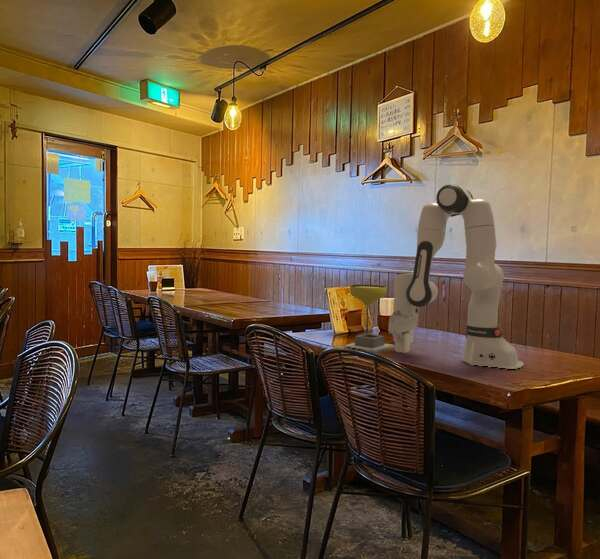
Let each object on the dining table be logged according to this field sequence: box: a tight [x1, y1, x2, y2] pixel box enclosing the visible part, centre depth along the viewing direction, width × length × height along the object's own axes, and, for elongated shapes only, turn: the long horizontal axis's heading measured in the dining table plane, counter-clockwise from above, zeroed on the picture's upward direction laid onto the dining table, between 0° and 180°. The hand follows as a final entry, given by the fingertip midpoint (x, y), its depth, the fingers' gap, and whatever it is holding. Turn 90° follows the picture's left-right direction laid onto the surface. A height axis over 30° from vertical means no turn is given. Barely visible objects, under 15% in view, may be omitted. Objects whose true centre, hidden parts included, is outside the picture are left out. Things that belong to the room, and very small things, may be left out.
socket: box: [344, 333, 395, 353], centre depth 220 cm, size 16×16×5 cm
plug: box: [394, 332, 411, 354], centre depth 212 cm, size 4×4×9 cm
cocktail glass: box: [349, 284, 387, 336], centre depth 248 cm, size 18×18×25 cm
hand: (402, 342), depth 212 cm, fingers closed on plug, 4 cm apart
